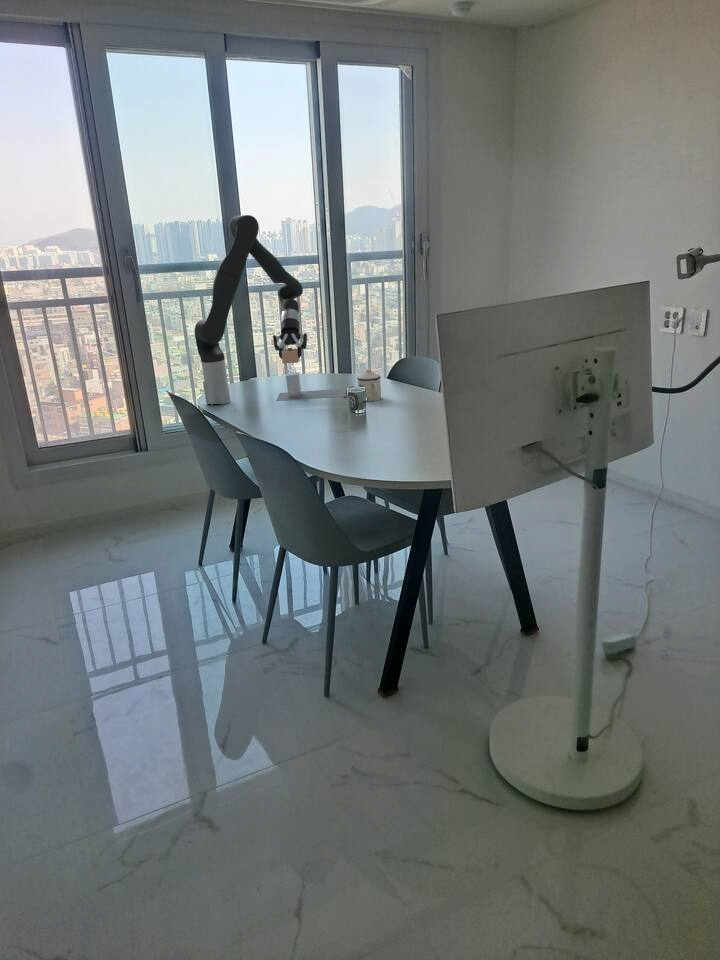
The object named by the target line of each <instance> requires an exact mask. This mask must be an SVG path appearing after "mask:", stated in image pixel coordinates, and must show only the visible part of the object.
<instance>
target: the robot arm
mask: <svg viewBox="0 0 720 960" xmlns="http://www.w3.org/2000/svg"><path fill="white" fill-rule="evenodd" d="M259 225H260V224H259V222H258V219H256V217H254V216H253V215H251V214H242V215H235V216H233V217H232V218H230V221H229V224H228V230H229V232H230V235H231V236H232V238H234V240H233V243H232V245H231V247H230V249H229V251H228V252H227V254H226V256H225V257H224V258H223V260H222V261H221V262H220V264H219V266H218V268H217V271H216V273H215V276H214V280H213V282H212V283H213V284H212V303H211V307H210V310H209V312H208V316H207V318H203V319H200V320H198V321H197V322H196V324H195V326H194V338H195V343H196V347H197V348H196V349H197V353H198V355H199V357H200V362H201V369H202V374H203V380H202V384H203V390H204V391H203V392H204V398H205V403H206V404H211V405H210V406H214V405H213V404H221V405H225V404H229V403H231V394H230V387H229V379H228V372H227V366H226V365H227V364H226V360H225V359H226V357H225V353H224V352H223V350H222V348H221V346H220V341H222V338H223V337H224V335H225V330H226V326H227V320H228V317H229V313H230V310H231V307H232V305H233V302H234V299H235V296H236V294H237V290H238V288H239V285H240V281H241V278H242V276H243V272H244V270H245V266H246V264H247V260H248V258H249V255H251V257H252V258H253V259H254V260H255V261H256V262H257V263H258V265H259V266H260V267H261V268H262V270H263V271H264V272H265V274H266V275H267V276H268V277H269V279H270V281H272V282H273V284H277V285H278V284H282V285H280V286H279V287H278V289H277V296H278V299H279V303H280V306H281V316H280V334H279V335H275V334H274V335H272V339H273V346H274V350H275V351H276V352H277V351H278V357H279V358H280V359H281V360H282V351H283V349H286V347H287V346H296V349H298V358H299V359H300V358H301V357H302V355H303V353H302V350H306V349H307V344H308V333H307V332H306V333H305V332H304V334H302V333H300V324H301V323H300V322H301V321H300V313H299V312H300V311H299V309H300V307H299V302H298V301H297V300H296V299H297V298H300V297H301V296H302V295H303V293H304V289H303V286H302V284H301V282H300V281H299V280H298V279H297V278H295V277H294V276H293V275H292V274H291V273H289V272H288V271H286V269H285V268H284V266H283V265H282V263H281V262H280V261H279V260H278V258H277V257H276V256H275V255H274V254H273V253H272V252H271V251H269V250H268V249H267V248H266V247H265V246H264V245H263V244H262V243H261V242H260V240H258V238H257V237H258V235H259V231H260V227H259ZM300 339H301V340H302V344H301V343H300V341H299V340H300ZM279 341H281V342H280V344H279V345H278V343H279Z"/></svg>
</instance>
